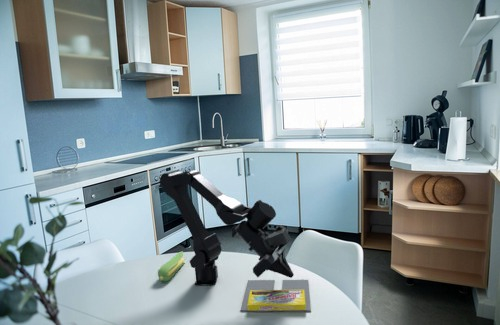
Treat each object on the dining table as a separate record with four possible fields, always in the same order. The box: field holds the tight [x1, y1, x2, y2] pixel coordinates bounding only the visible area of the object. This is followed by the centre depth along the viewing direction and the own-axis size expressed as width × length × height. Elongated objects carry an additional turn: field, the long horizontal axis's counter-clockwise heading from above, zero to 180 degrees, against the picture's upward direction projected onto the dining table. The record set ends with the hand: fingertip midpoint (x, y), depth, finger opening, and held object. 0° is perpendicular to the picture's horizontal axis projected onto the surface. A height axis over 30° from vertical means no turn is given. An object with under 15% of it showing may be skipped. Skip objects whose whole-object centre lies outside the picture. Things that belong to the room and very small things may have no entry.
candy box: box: [247, 289, 306, 312], centre depth 105 cm, size 16×2×8 cm
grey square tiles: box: [239, 279, 312, 313], centre depth 110 cm, size 20×18×1 cm
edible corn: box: [157, 251, 185, 282], centre depth 131 cm, size 5×20×5 cm
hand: (292, 276), depth 107 cm, fingers closed
